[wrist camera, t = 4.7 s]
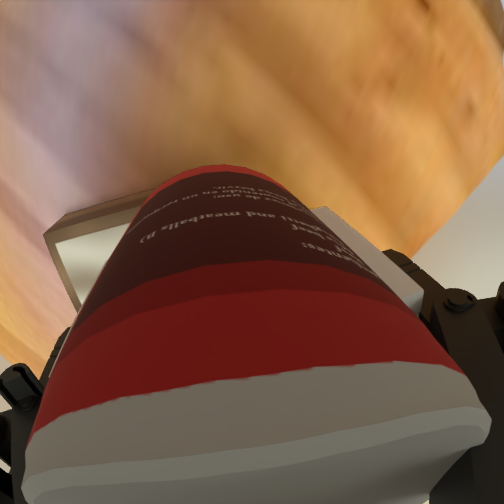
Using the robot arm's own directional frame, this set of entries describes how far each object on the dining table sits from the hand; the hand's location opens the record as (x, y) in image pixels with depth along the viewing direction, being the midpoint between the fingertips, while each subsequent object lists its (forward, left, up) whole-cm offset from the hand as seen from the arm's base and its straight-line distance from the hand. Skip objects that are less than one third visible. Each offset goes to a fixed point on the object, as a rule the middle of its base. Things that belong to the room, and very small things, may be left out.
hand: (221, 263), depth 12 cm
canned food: (0, 0, -1) cm, 1 cm away
